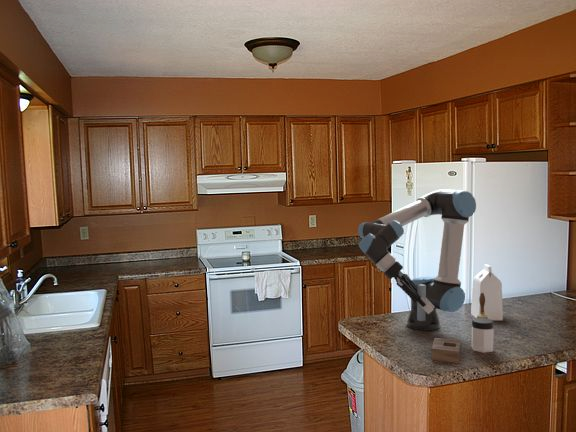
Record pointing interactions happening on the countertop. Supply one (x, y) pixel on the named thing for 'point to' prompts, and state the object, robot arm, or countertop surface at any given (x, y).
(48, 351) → the countertop surface
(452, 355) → the hole block
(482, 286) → the milk
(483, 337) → the jar
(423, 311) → the peg
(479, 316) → the hand bell
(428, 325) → the robot arm
